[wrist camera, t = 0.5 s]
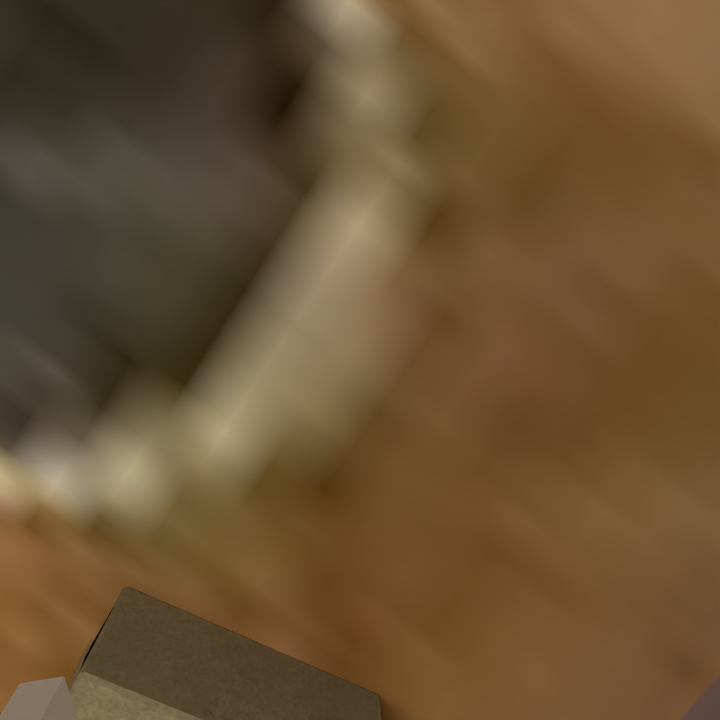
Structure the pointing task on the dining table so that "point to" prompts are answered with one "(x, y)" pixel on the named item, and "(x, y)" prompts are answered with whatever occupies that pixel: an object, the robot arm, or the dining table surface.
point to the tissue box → (200, 673)
